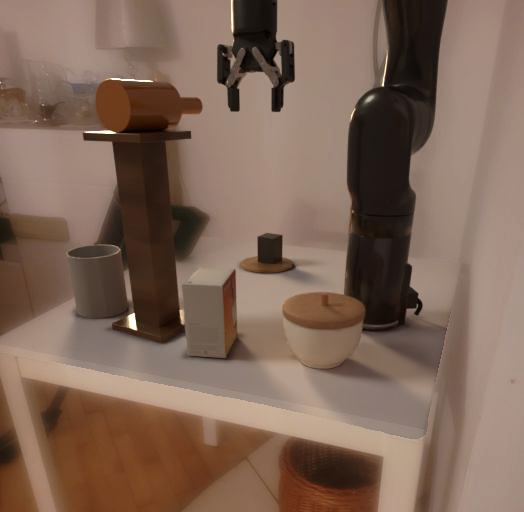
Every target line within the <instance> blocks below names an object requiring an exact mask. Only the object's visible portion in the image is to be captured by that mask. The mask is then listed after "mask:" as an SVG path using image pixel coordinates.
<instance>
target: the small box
mask: <svg viewBox="0 0 524 512" xmlns="http://www.w3.org/2000/svg"><path fill="white" fill-rule="evenodd" d="M181 294H182V307H183V310H184V321H185V330H184V332H185V344H186V354H187V356H189V357H203V358H216V359H217V358H219V359H226V358H227V355H228V354H229V351H230V349H231V348H232V346H233V344H234V343H235V340H236V339H237V337H238V310H237V309H238V307H237V270H236V268H225V267H224V268H223V267H207V266H206V267H205V266H204V267H203V266H199V267H197V268H196V270H195V271H194V272H193V273H192V274H191V276H189V277H188V278H187V280H185V281H184V282H183V283H181Z"/></svg>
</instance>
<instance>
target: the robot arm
mask: <svg viewBox="0 0 524 512" xmlns="http://www.w3.org/2000/svg"><path fill="white" fill-rule="evenodd" d="M448 2H449V0H380V3H381V11H382V16H383V22H384V29H385V40H386V45H385V47H386V48H385V49H386V50H385V51H386V52H385V61H384V71H383V76H382V83H381V85H380V86H376V87H373V88H371V89H369V90H368V91H366V92H365V93H363V95H361V97H360V98H358V100H357V102H356V103H355V105H354V108H353V109H352V111H351V115H350V119H349V124H348V131H347V151H346V189H347V192H348V195H349V199H350V203H349V204H350V205H349V215H348V230H347V231H348V232H347V243H346V244H347V245H346V256H345V257H346V258H345V271H344V272H345V273H344V283H343V284H344V285H343V295H346V296H350V297H353V298H355V299H357V300H359V301H360V302H361V303H362V304H363V305H364V306H365V317H364V320H363V328H362V330H371V331H383V330H390V329H394V328H396V327H398V326H404V325H405V323H406V318H407V310H414V309H415V311H414V312H413V315H415V316H419V315H420V314H421V312H422V310H423V307H424V305H423V301H422V300H421V299H420V298H419V292H418V291H416V290H415V289H414V288H413V287H412V286H411V280H412V275H413V266H412V264H411V263H409V255H410V248H411V240H412V234H413V232H412V231H413V225H414V217H415V211H416V205H417V193H416V191H415V190H414V188H413V187H412V186H411V182H410V172H411V171H410V169H411V162H412V161H411V159H412V156H415V155H416V154H417V153H419V152H420V151H421V150H422V149H423V148H424V147H425V145H426V144H427V143H428V141H429V139H430V137H431V135H432V132H433V130H434V125H435V120H436V110H437V90H438V76H439V75H438V74H439V61H440V60H439V59H440V52H441V51H440V50H441V43H442V36H443V31H444V25H445V19H446V14H447V8H448V4H449V3H448ZM230 11H231V12H230V14H231V33H232V36H233V42H232V45H229V44H228V45H227V44H220V43H219V44H218V45H217V47H216V49H217V50H216V82H217V83H218V84H219V85H223V86H224V87H225V88H226V90H227V91H226V92H227V94H226V95H227V107H228V109H229V111H230V112H231V113H235V112H237V113H238V112H240V110H241V101H240V88H239V86H240V84H241V82H242V80H243V78H245V77H246V76H247V74H248V73H250V74H252V73H253V74H254V73H264V74H265V76H267V78H268V79H269V81H270V83H271V85H272V86H273V87H271V91H270V92H271V96H270V98H271V102H270V105H271V112H272V113H280V112H281V111H282V109H283V108H284V104H285V103H284V97H285V95H284V93H285V92H284V91H285V87H286V86H287V85H288V84H291V83H294V82H295V80H296V65H295V63H296V62H295V60H296V59H295V42H294V41H292V40H289V39H282V40H281V41H278V39H277V33H278V0H230ZM277 53H278V55H279V56H280V59H281V60H280V65H281V66H280V67H281V69H280V67H279V65H278V63H277V62H276V61H275V57H276V56H277ZM233 57H234V59H235V60H234V62H233V64H232V66H231V60H232V59H233Z"/></svg>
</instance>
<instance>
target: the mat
mask: <svg viewBox="0 0 524 512" xmlns="http://www.w3.org/2000/svg"><path fill="white" fill-rule="evenodd" d="M241 268H243V269H244V270H246V271H249V272H253V273H261V274H271V273H272V274H273V273H282V272H286V271H289V270H290V269H292V268H293V261H292V260H291V259H289V258H287V257H284V256H282V260H281V261H279V262H277V263H275V264H269V263H263V262H258V255H256V256H251V257H247V258H245V259H243V260H242V261H241Z"/></svg>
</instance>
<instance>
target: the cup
mask: <svg viewBox="0 0 524 512" xmlns="http://www.w3.org/2000/svg"><path fill="white" fill-rule="evenodd" d="M65 254H66V260H67V265H68V270H69V271H68V272H69V276H70V281H71V286H72V292H73V297H74V303H75V308H76V312H77V314H78V315H79V316H81V317H82V318H88V319H102V318H104V319H105V318H109V317H114V316H118V315H120V314H122V313H124V312H126V311H127V309H128V308H129V301H128V295H127V286H126V280H125V272H124V271H125V270H124V264H123V257H122V249H121V248H120V247H119V246H117V245H112V244H89V245H83V246H77V247H75V248H71V249H69V250H68V251H67V252H66V253H65Z"/></svg>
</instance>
